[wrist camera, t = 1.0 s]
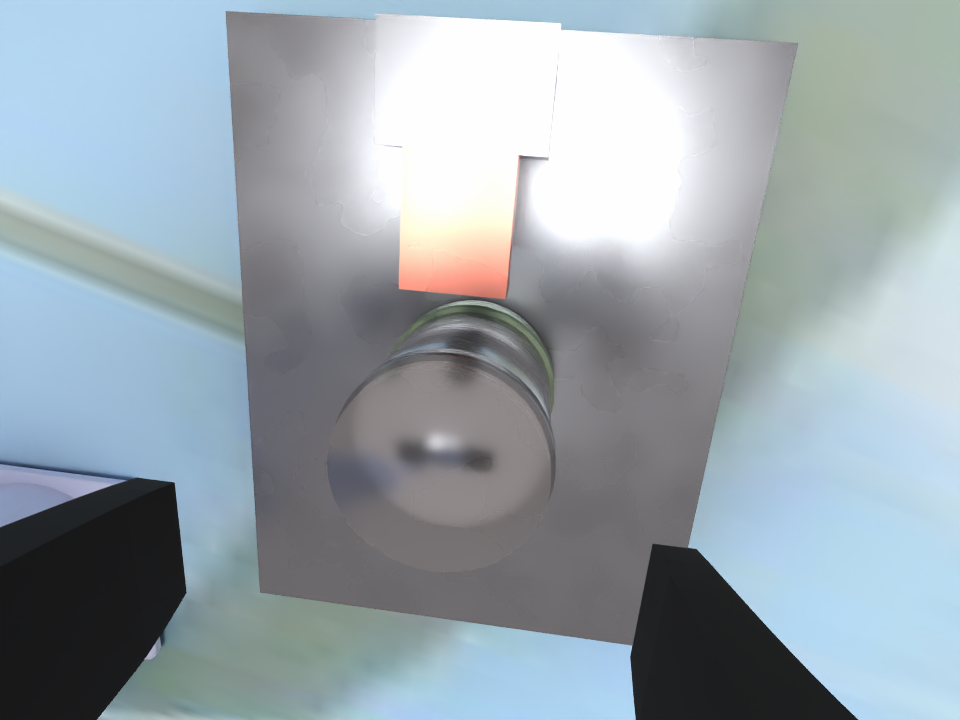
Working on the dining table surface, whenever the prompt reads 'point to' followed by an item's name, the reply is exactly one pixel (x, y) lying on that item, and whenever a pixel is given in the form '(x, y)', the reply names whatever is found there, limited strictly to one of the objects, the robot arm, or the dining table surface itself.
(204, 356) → the dining table surface
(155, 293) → the dining table surface
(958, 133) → the dining table surface
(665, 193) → the stand
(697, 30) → the dining table surface
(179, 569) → the robot arm
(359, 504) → the silver metal canister
